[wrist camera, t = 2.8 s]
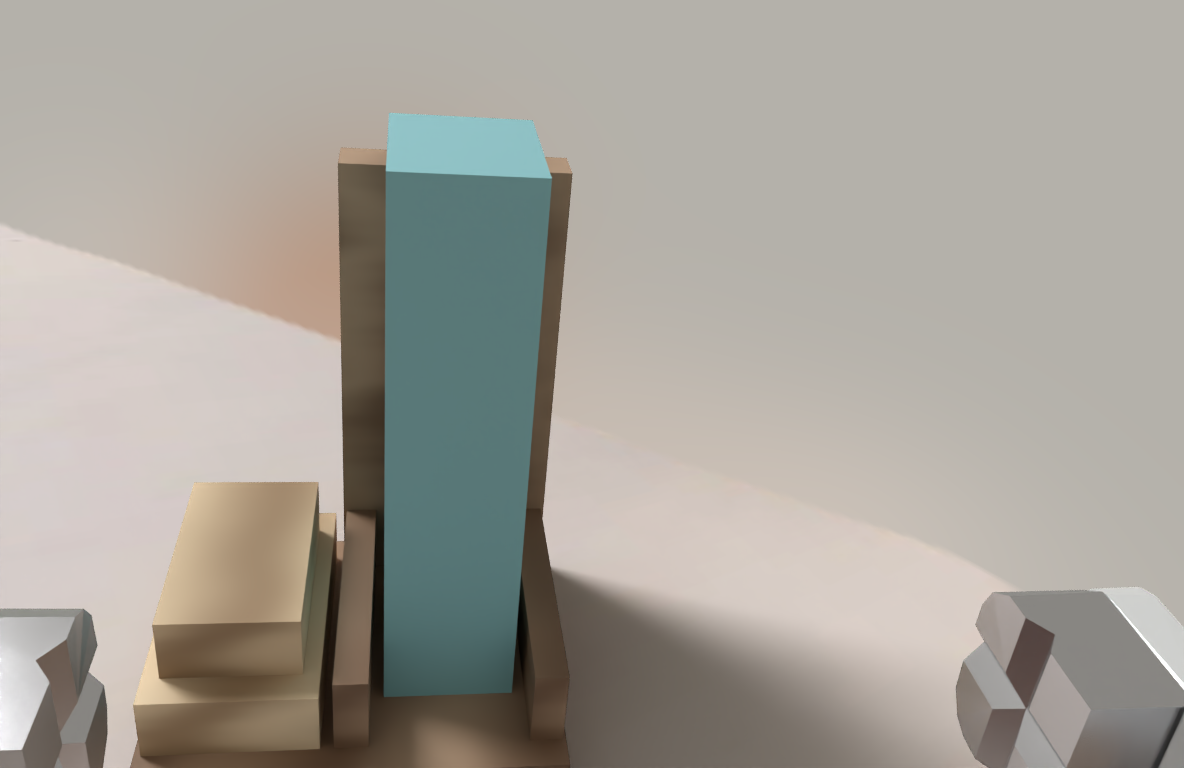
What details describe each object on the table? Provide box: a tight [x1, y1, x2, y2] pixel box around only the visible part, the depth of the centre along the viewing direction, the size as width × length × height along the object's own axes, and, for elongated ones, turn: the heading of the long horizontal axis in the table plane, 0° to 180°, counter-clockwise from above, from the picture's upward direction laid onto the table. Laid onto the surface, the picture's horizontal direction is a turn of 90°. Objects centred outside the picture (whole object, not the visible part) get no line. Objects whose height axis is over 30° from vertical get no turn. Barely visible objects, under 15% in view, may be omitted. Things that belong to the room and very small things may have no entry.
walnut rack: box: [130, 148, 572, 768], centre depth 33 cm, size 12×11×16 cm
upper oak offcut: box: [152, 482, 320, 679], centre depth 35 cm, size 4×7×2 cm, turn 8°
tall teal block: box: [384, 113, 552, 697], centre depth 33 cm, size 4×5×17 cm
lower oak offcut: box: [133, 513, 337, 756], centre depth 36 cm, size 5×9×2 cm, turn 8°
